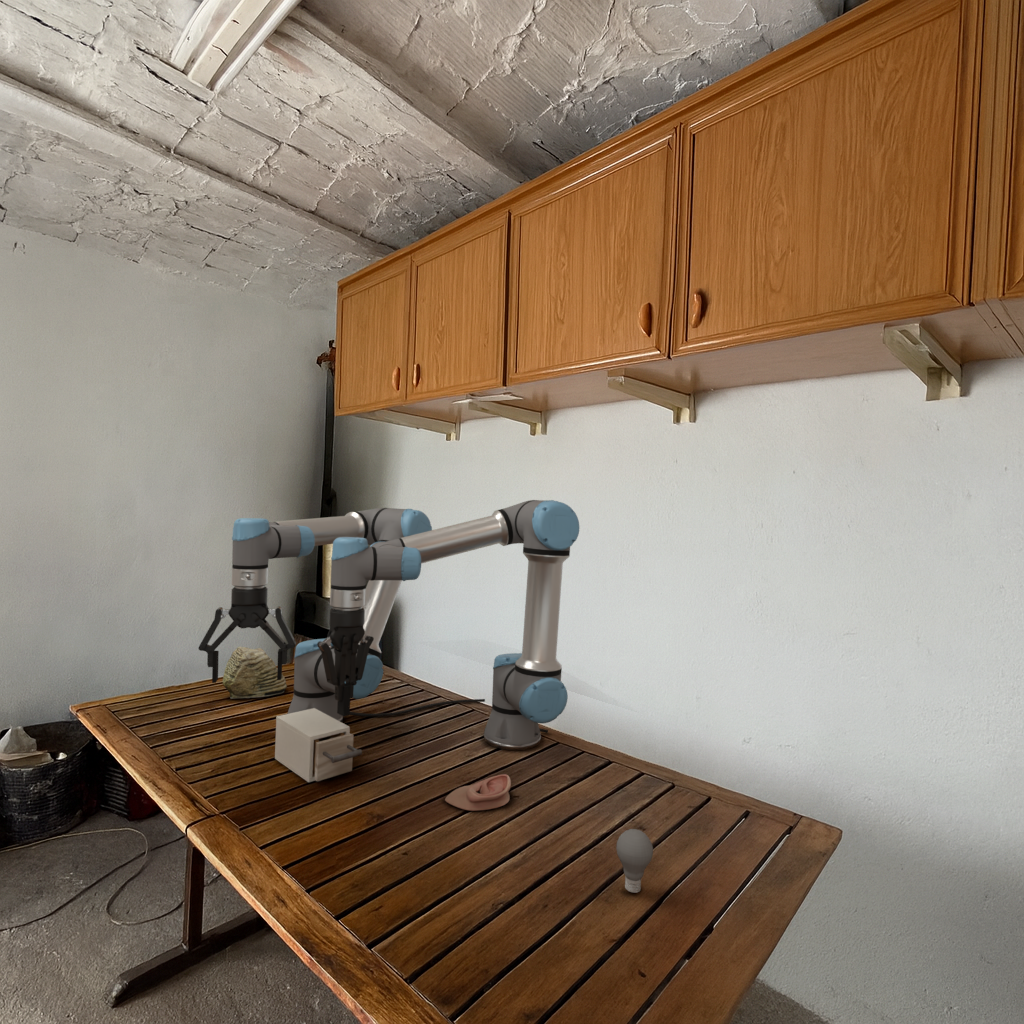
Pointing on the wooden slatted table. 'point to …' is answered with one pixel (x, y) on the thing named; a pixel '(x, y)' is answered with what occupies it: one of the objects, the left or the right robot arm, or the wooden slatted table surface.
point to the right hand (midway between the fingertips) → (343, 713)
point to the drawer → (333, 755)
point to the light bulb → (634, 857)
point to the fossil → (252, 674)
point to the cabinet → (303, 738)
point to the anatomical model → (482, 794)
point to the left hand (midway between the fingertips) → (247, 679)
